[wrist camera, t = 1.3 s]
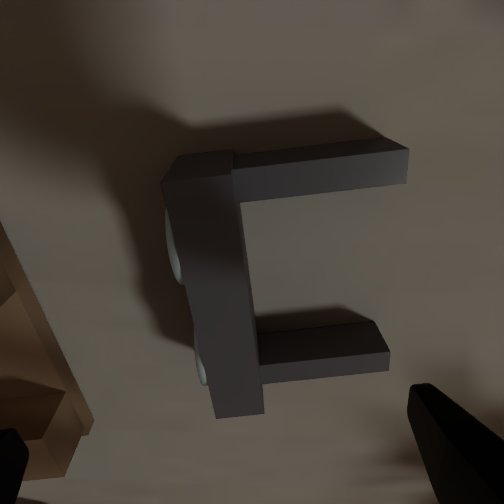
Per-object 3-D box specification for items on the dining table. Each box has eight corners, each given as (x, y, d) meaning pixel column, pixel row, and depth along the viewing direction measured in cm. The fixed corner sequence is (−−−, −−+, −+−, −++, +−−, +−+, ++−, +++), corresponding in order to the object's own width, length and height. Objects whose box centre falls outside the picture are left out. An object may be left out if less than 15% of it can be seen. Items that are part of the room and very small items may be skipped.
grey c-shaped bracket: (373, 342, 16) (400, 399, 13) (214, 360, 16) (209, 419, 13) (386, 130, 12) (430, 151, 9) (170, 156, 12) (151, 183, 9)
